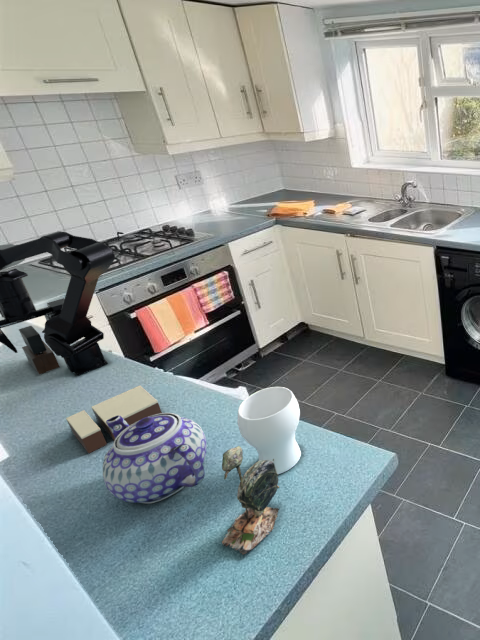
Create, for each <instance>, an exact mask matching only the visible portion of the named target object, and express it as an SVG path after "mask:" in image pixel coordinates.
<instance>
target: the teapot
mask: <svg viewBox="0 0 480 640" xmlns="http://www.w3.org/2000/svg"><path fill="white" fill-rule="evenodd" d="M106 423H107V425H108V426H109V428H110V429H111V431H112V433H113V435H114V437H115V441H114V440H113V443H112V446H111V448H109V449H108V451H107V452H106V453H105V455H104V459H103V462H102V478H103V481H104V484H105V487H106V489H107V490H108V491H109V492H110V494H112V495H113V497H115V498H116V499H119V500H121V501H123V502H126V503H132V504H133V503H136V504H137V503H139V504H154V503H158V502H160V501H163V500H165V499H167V498H169V497H171V496H173V495H175V494H177V493H179V492H180V491H181V490H182V489H184V488H194V487H197V486H198V485H199V484H200V483H202V481H203V480H204V478H205V474H206V472H205V467H204V463H205V459H206V455H207V449H208V448H207V445H208V444H207V437H206V434H205V432H204V431H203V429H202V427H201V426H200V425H199V424H198V423H197V422H196V421H195V420H193V419H190V418H187V417H183V416H180V415H179V414H177V413H173V412H162V413H160V414H156V415H152V416H149V417H145V418H143V419H141V420H139V421H137V422H135V423H134V424H132V425H130V426H129V425H128V423H127V422H126V421H125V420H124V419H123V418H122V417H121V416H115V417H112V418H110V419H108V420H107V421H106Z"/></svg>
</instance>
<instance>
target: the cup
mask: <svg viewBox="0 0 480 640" xmlns="http://www.w3.org/2000/svg"><path fill="white" fill-rule="evenodd" d="M300 418H301V410H300V404H299V401H298V399H297V398H296V396H295V394H294V392H293V391H292V390H291V389H289V388H287V387H283V386H271V387H265V388H262V389H260V390H257V391H256V392H254V393H252V394H250V395H249V396H247V397H246V398H244V399H243V401H242V402H241V403H240V405H239V406H238V409H237V421H236V422H237V426H238V430H239V434H240V436H241V437H242V438H243V439H244V440H245V442H246V443H247V444H248V445H249V446H250V447H253V448H254V449H255V450H256V453H257V454H258V461H261V460H270V461H272V462H273V463H274V464H275V468H276V472H277V474H278V475H280V474H283V473H285V472H287V471H289V470H291V469H292V468H293V467H294V466H295V465H297V464H298V462H299V460H300V458H301V456H302V451H301V449H300V446H299V444H298V442H297V441H296V432H297V429H298V427H299V422H300ZM273 459H274V461H273Z"/></svg>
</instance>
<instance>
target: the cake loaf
mask: <svg viewBox="0 0 480 640" xmlns="http://www.w3.org/2000/svg"><path fill="white" fill-rule="evenodd" d="M91 410H92V412H93V414H94V417H95V419H96V421H97V423H98V424H99V425H100V426H101V428H102V429H103V430H104V431H105V432H106V434H107V435H108V436H109V437H110V438H111V439H112V440H113V442H114V441H115V437H114V435H113V433H112V431H111V429H110V428H109V426H108V425H107V423H106V421H107V420H108V419H110V418H112V417H115V416H121V417H122V418H123V419H124V420H125V421H126V422H127V423H128V425H129V426H130V425H132V424H134V423H135V422H137V421H139V420H141V419H143V418H145V417H149V416H152V415H156V414H160V413H163V411H162V409H161V407H160V404H159V401H158V399H156V398H155V397H154V396H153V395H152V394H151V393H149V391H147V390H146V389H145V388H144V387H143V386H142V385H138V386H137V385H136V386H135V387H133V388H130V389H129V390H126V391H124V392H122V393H119V394H117V395H114V396H112V397H110V398H108V399H106V400H103V401H101V402H99V403H97V404H95V405H92V406H91Z"/></svg>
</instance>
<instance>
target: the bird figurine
mask: <svg viewBox="0 0 480 640" xmlns="http://www.w3.org/2000/svg"><path fill="white" fill-rule="evenodd" d="M243 454H244V451H243V448H242V447H241V446H240V445H238V446H236V447H232V448H229V449H227V450H226V451H224V452H223V453H222V460H221V470H222V471H223V472H224V478H223V479H224V480H227V478H228V474H230V472H231V471H233V470H235V469H236V472H237V474H238V478H239V481H240V482H239V484H238V488H237V493H236V499H237V501H238V503H240V506H241V508H243V509H245V511H244V512H243V513H241V514H239V515H238V517H236V518H234V522H233V523H232V524H231V526H230V527H229V528H228V529H227V533H226V534H225V535H224V537H223V540H222V541H221V543H222V546H223V547H228V546H229V548H232V549H234V551H237V552H238V551H239V554H242V555H246V554H247V553H249V552H251V551H252V550H253V549H255V547H256V546H258V545H259V544H260V543H261V541H263V540H264V538H266V537H267V535H270V533H271V532H273V530H274V528H275V525H276V520H277V518H278V517H279V515H278V514H279V511H280V508H279V507H271V506H268V505H269V504H270V502H271V501H272V499H273V497H275V495H276V493H277V491H278V489H280V486H279V485H278V484H279V474H277V472H276V468H275V464H274V463H273V462H272V461H270V460H261V461H259V460H258V461H257V462H255V463H253V465H251V466H250V467H249V468H248V469H247V470H245V471H246V472H244V474H243V475H242V472H241V465H242V463H243V460H244V455H243ZM273 461H274V459H273ZM234 551H233V552H234Z"/></svg>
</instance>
